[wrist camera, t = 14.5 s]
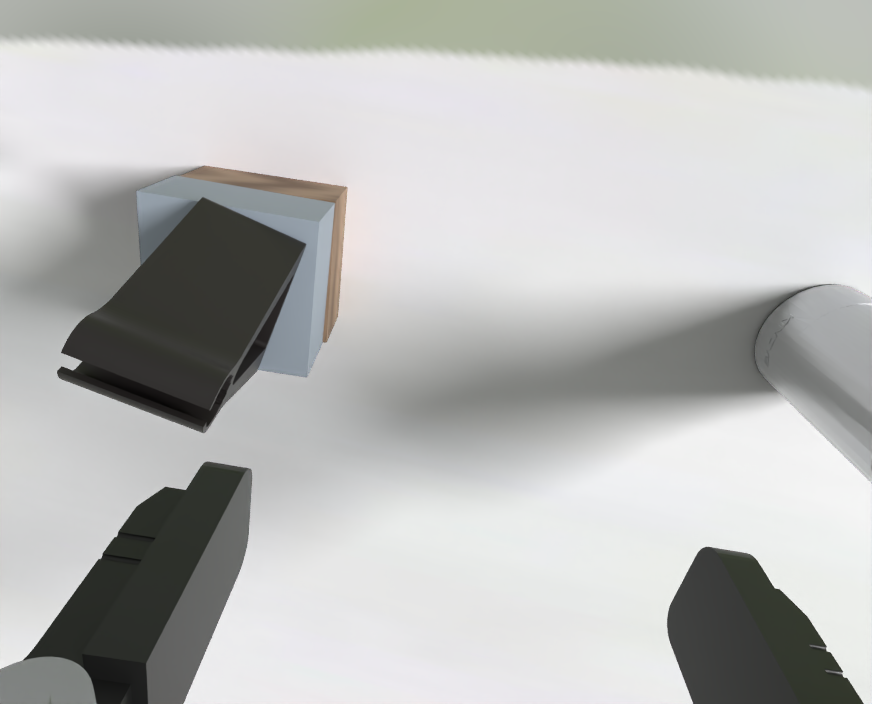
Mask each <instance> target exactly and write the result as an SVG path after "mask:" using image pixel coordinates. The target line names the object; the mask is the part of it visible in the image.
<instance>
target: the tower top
mask: <svg viewBox="0 0 872 704" xmlns="http://www.w3.org/2000/svg"><path fill="white" fill-rule="evenodd" d="M136 195H137V211H138V227H139V243H140V259H141V265H142V264H143V263H144V262H145V261H146V259H147V258H148V257H149V256H150V255H151V254H152V253H153V252H154V251H155V249H156V248H157V247H158V246H159V245H160V244H161V243H162V242H163V241H164V239H165V238H166V237H167V236H168V235H169V234H170V233H171V232H172V230H173V229H174V228H175V227H176V226H177V225H178V224H179V223H180V222H181V220H182V219H183V218H184V217H185V216H186V215H187V214H188V213H189V211H190V210H191V209H192V208H193V207H194V206H195V205H196V204H197V203H198V201H199V200H200V199H201V198H202V197H205V198H207V199H209V200H211V201H213V202H216V203H218V204H220V205H222V206H224V207H227V208H229V209H231V210H233V211H235V212H238V213H240V214H242V215H244V216H246V217H249V218H251V219H253V220H255V221H257V222H260V223H262V224H264V225H266V226H268V227H271V228H273V229H275V230H277V231H279V232H282V233H284V234H286V235H288V236H290V237H293V238H295V239H297V240H299V241H301V242H304V243H306V244H307V245H306V248H305V250H304V253H303V255H302V258H301V261H300V263H299V266H298V268H297V271H296V273H295V276H294V279H293V281H292V284H291V286H290V289H289V291H288V294H287V297H286V299H285V302H284V304H283V307H282V309H281V312H280V315H279V317H278V320H277V322H276V325H275V327H274V330H273V333H272V335H271V338H270V340H269V343H268V345H267V348H266V351H265V353H264V356H263V358H262V361H261V363H260V366H259V368H258V370H262V371H269V372H275V373H282V374H288V375H295V376H301V377H307V376H308V374H309V372H310V370H311V368H312V365H313V363H314V361H315V359H316V356H317V354H318V352H319V350H320V348H321V345H322V342H323V331H324V320H325V309H326V297H327V286H328V275H329V264H330V253H331V241H332V230H333V219H334V208H335V203H333V202H327V201H321V200H315V199H309V198H304V197H298V196H292V195H286V194H280V193H274V192H269V191H263V190H257V189H251V188H245V187H240V186H234V185H228V184H222V183H216V182H211V181H205V180H199V179H193V178H187V177H182V176H176V175H175V176H172V177H170V178H167V179H165V180H162V181H160V182H157V183H155V184H152V185H150V186H147V187H145V188H142V189H140V190H137V191H136Z"/></svg>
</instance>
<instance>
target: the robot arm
mask: <svg viewBox="0 0 872 704" xmlns="http://www.w3.org/2000/svg"><path fill="white" fill-rule="evenodd" d="M755 360H756V364H757V367H758V369H759V371H760V373H761V374H762V375H763V377H764V378H765V379H766V380H767V381H768V382H769V383H770V384H771V385H772V386H773V387H774V388H775V389H776V390H777V391H778V392H779V393H780V394H781V395H782V396H783V397H784V398H785V399H786V400H787V401H788V402H789V403H790V404H791V405H792V406H793V407H794V408H795V409H796V410H797V411H798V412H799V413H800V414H801V415H802V416H803V417H804V418H805V419H806V420H807V421H808V422H809V423H810V424H812V425H813V426H814V427H815V428H816V429H817V430H818V431H819V432H820V433H821V434H822V435H823V436H824V437H825V438H826V439H827V440H828V441H829V442H830V443H831V444H832V445H833V446H834V447H835V448H836V449H837V450H838V451H839V452H840V453H841V454H842V455H843V456H844V457H845V458H846V459H847V460H848V461H849V462H850V463H852V464H853V465H854V466H855V467H856V468H857V469H858V470H859V471H860V472H861V473H862V474H863V475H864V476H865V477H866V478H867V479H868V480H869V481H870V482H871V483H872V298H871V297H870V296H868V295H866V294H864V293H862V292H860V291H858V290H856V289H854V288H852V287H847V286H843V285H823V286H818V287H813V288H810V289H807V290H805V291H802V292H799V293H798V294H796V295H794V296H792V297H791V298H789V299H787V300H786V301H785V302H783V303H782V304H781V305H780V306H778V307H777V308H776V309H775V310H774V311H773V312H772V314H771V315H770V316H769V317H768V318H767V319H766V321H765V323H764V324H763V326H762V327H761V329H760V331H759V334H758V337H757V340H756V345H755ZM251 486H252V472H251V469H249V468H243V467H237V466H231V465H225V464H219V463H213V462H205V463H204V464H203V465H202V466H201V467H200V469H199V470H198V472H197V474H196V475H195V477H194V478H193V480H192V482H191V483H190V485H189V486H188V488H187V489H186V490H181V489H175V488H169V487H164V488H163V489H162V490H160V491H159V492H157V493H156V494H154V495H153V496H151V497H150V498H148V499H147V500H145V501H144V502H143V503H141V504H140V505H138V506H137V507H136V508H135V510H134V511H133V512H132V514H131V515H130V517H129V518H128V519H127V521H126V522H125V524H124V525H123V526H122V528H121V529H120V530H119V532H118V536H117V537H114V539H113V540H112V541H111V543H110V544H109V546H108V547H107V548H106V550H105V551H104V552H103V556H102V558H101V559H98V561H97V562H96V564H95V565H94V566H93V568H92V569H91V570H90V572H89V573H88V575H87V576H86V577H85V579H84V580H83V581H82V583H81V584H80V586H79V587H78V588H77V590H76V591H75V592H74V594H73V595H72V597H71V598H70V599H69V601H68V602H67V604H66V605H65V606H64V608H63V609H62V610H61V612H60V613H59V615H58V616H57V617H56V619H55V620H54V621H53V623H52V624H51V626H50V627H49V628H48V630H47V631H46V632H45V634H44V635H43V637H42V638H41V639H40V641H39V642H38V644H37V645H36V646H35V647H34V649H33V650H32V651H31V652H30V653H29V655H28V656H27V657H26V658H25V659H24V660H23V661H20V662H17V663H14V664H12V665H9V666H7V667H5V668H2V669H0V704H183V703H184V701H185V699H186V696H187V694H188V692H189V689H190V687H191V685H192V682H193V680H194V677H195V675H196V673H197V670H198V668H199V666H200V663H201V661H202V659H203V656H204V654H205V652H206V649H207V647H208V645H209V642H210V640H211V638H212V635H213V633H214V631H215V628H216V626H217V623H218V621H219V619H220V616H221V614H222V612H223V609H224V607H225V605H226V602H227V600H228V598H229V595H230V593H231V591H232V588H233V586H234V584H235V581H236V579H237V577H238V574H239V572H240V569H241V566H242V563H243V560H244V556H245V552H246V548H247V542H248V535H249V519H250V503H251ZM667 628H668V636H669V640H670V643H671V646H672V649H673V651H674V654H675V656H676V659H677V662H678V664H679V667H680V670H681V672H682V675H683V678H684V680H685V683H686V686H687V688H688V691H689V693H690V696H691V699H692V701H693V704H864V703H863V702H862V700H861V699H860V697H859V696H858V694H857V693H856V691H855V690H854V688H853V686H852V685H851V683H850V682H849V680H848V679H847V678H844V677H843V675H842V672H843V671H842V669H841V668H840V666H839V665H838V663H837V662H836V660H835V659H834V657H833V656H832V654H831V652H827V651H826V647H827V646H826V645H825V643H824V642H823V640H822V639H821V637H820V635H819V634H818V632H817V631H816V629H815V628H814V626H813V625H812V623H811V622H810V620H809V618H808V617H807V616H806V615H805V614H804V613H803V612H802V611H801V610H800V609H799V608H798V607H797V606H796V605H795V604H794V603H793V602H792V601H791V600H790V599H789V598H788V597H787V596H786V595H785V594H784V593H783V592H782V591H781V590H780V589H775V588H774V587H773V585H772V584H771V582H770V580H769V579H768V577H767V575H766V574H765V572H764V571H763V569H762V567H761V566H760V564H759V563H758V561H757V560H756V559H755V558H754V557H753V556H752V555H750V554H747V553H742V552H736V551H730V550H724V549H718V548H712V547H705V548H702V549H701V550H700V551H699V552H698V554H697V555H696V557H695V559H694V561H693V563H692V565H691V567H690V568H689V570H688V572H687V574H686V576H685V578H684V580H683V582H682V584H681V585H680V587H679V589H678V591H677V593H676V595H675V597H674V599H673V601H672V603H671V605H670V608H669V611H668V619H667Z"/></svg>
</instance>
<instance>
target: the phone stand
mask: <svg viewBox="0 0 872 704" xmlns="http://www.w3.org/2000/svg"><path fill="white" fill-rule="evenodd" d="M306 245H307V244H306V243H304V242H301V241H299V240H297V239H295V238H293V237H290V236H288V235H286V234H284V233H282V232H279V231H277V230H275V229H273V228H271V227H268V226H266V225H264V224H262V223H260V222H257V221H255V220H253V219H251V218H249V217H246V216H244V215H242V214H240V213H238V212H235V211H233V210H231V209H229V208H227V207H224V206H222V205H220V204H218V203H216V202H213V201H211V200H209V199H207V198H205V197H202V198H201V199H200V200H199V201H198V203H197V204H196V205H195V206H194V207H193V208H192V209H191V210H190V211H189V213H188V214H187V215H186V216H185V217H184V218H183V219H182V220H181V222H180V223H179V224H178V225H177V226H176V227H175V228H174V229H173V230H172V232H171V233H170V234H169V235H168V236H167V237H166V238H165V239H164V241H163V242H162V243H161V244H160V245H159V246H158V247H157V248H156V249H155V251H154V252H153V253H152V254H151V255H150V256H149V257H148V258H147V259H146V261H145V262H144V263H143V264H142V265H141V266H140V267H139V268H138V270H137V271H136V272H135V273H134V274H133V275H132V276H131V277H130V278H129V280H128V281H127V282H126V283H125V284H124V285H123V286H122V287H121V289H120V290H119V291H118V292H117V293H116V294H115V295H114V296H113V297H112V299H111V300H110V301H109V302H108V303H106V304H105V305H104V306H103V307H102V308H100V309H99V310H97V311H96V312H94V313H92V314H90V315H88V316H86V317H85V318H84V319H83V320H82V321H81V322H80V323H79V324H78V325H77V326H76V327H75V329H74V330H73V331H72V333H71V334H70V336H69V338H68V339H67V341H66V343H65V345H64V347H63V349H62V352H61V353H63V354H66V355H68V356H71V357H74V358H76V359H79V360H81V361H82V363H81V364H80V365H79V366H78V367H77V368H76V369H75V370H73V371H72V370H70V369H67V368H65V367H61V368H60V369H59V370H58V371H57V374H58V377H59V378H60V379H62V380H65V381H68V382H70V383H73V384H75V385H78V386H81V387H83V388H86V389H89V390H91V391H94V392H96V393H99V394H102V395H104V396H107V397H110V398H112V399H115V400H118V401H120V402H123V403H125V404H128V405H131V406H133V407H136V408H139V409H141V410H144V411H146V412H149V413H152V414H154V415H157V416H160V417H162V418H165V419H168V420H170V421H173V422H175V423H178V424H181V425H183V426H186V427H189V428H191V429H194V430H196V431H199V432H202V433H205V432H206V431H207V430H208V428H209V427H210V425H211V424H212V422H213V420H214V419H215V417H216V415H217V414H218V412H219V411H220V409H221V408H222V407H223V405H224V404H225V403H226V402H227V401H228V400H229V399H230V398H231V397H232V396H233V395H234V394H235V393H236V392H237V391H238V390H239V389H240V388H241V387H242V386H243V385H244V384H245V383H246V382H247V381H248V380H249V379H250V378H251V377H252V376H253V375H254V374H255V373H256V372H257V370H258V368H259V366H260V363H261V361H262V358H263V356H264V353H265V351H266V348H267V345H268V343H269V340H270V338H271V335H272V333H273V330H274V327H275V325H276V322H277V320H278V317H279V315H280V312H281V309H282V307H283V304H284V302H285V299H286V297H287V294H288V291H289V289H290V286H291V284H292V281H293V279H294V276H295V273H296V271H297V268H298V266H299V263H300V261H301V258H302V255H303V253H304V250H305V248H306Z"/></svg>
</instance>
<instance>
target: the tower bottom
mask: <svg viewBox="0 0 872 704" xmlns="http://www.w3.org/2000/svg"><path fill="white" fill-rule="evenodd" d="M181 176H182V177H187V178H193V179H199V180H205V181H211V182H216V183H222V184H228V185H234V186H240V187H245V188H251V189H257V190H263V191H269V192H274V193H280V194H286V195H292V196H298V197H304V198H309V199H315V200H321V201H327V202H333V203H335V208H334V219H333V230H332V241H331V253H330V264H329V275H328V286H327V297H326V309H325V320H324V331H323V342H327V340H328V338H329V335H330V333H331V331H332V329H333V326H334V324H335V322H336V319H337V317H338V307H339V294H340V280H341V267H342V253H343V240H344V226H345V213H346V199H347V187H343V186H337V185H330V184H323V183H317V182H310V181H303V180H297V179H290V178H283V177H277V176H270V175H263V174H257V173H250V172H243V171H237V170H230V169H223V168H217V167H210V166H203V167H200V168H198V169H195V170H193V171H191V172H188V173H186V174H183V175H181Z"/></svg>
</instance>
